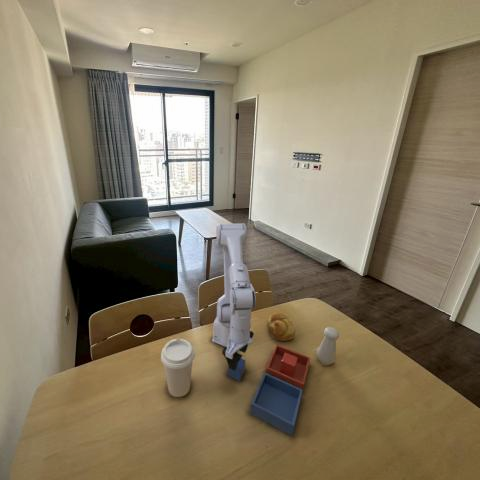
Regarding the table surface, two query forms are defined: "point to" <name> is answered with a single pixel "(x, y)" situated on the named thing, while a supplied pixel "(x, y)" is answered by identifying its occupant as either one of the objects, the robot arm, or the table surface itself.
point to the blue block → (237, 370)
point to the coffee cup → (178, 366)
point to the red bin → (300, 369)
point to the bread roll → (281, 327)
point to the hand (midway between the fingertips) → (237, 359)
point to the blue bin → (277, 403)
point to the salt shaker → (328, 346)
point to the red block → (288, 365)
